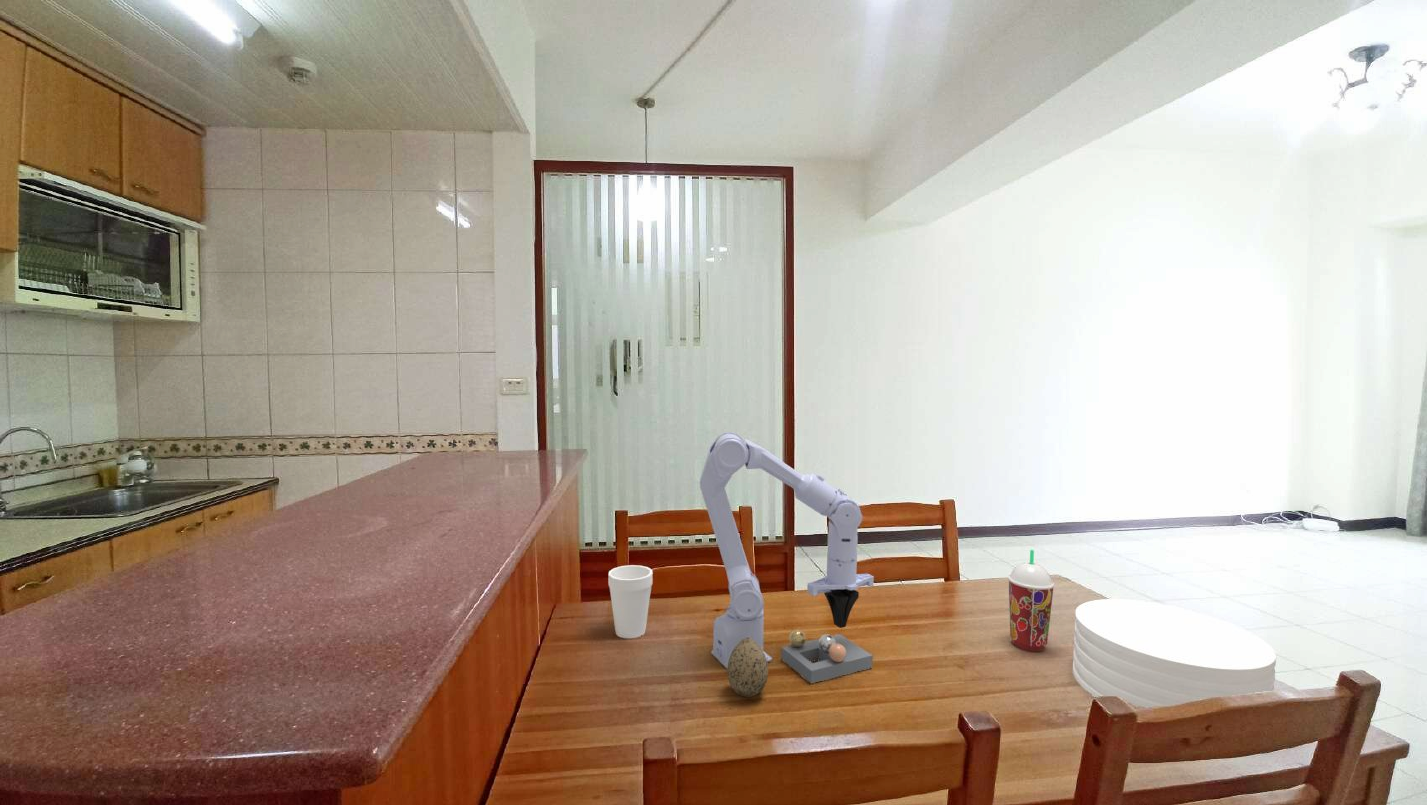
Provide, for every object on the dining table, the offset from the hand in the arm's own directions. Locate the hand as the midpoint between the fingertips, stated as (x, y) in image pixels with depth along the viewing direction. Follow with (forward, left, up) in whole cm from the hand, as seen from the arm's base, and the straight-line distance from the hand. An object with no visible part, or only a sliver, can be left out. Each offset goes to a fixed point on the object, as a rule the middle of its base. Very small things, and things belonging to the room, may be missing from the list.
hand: (839, 625), depth 117 cm
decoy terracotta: (-4, -5, -2) cm, 7 cm away
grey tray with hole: (-4, -1, -6) cm, 8 cm away
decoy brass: (-8, +3, -2) cm, 9 cm away
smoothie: (+39, -12, -7) cm, 41 cm away
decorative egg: (-23, -4, -7) cm, 24 cm away
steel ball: (-4, -1, -2) cm, 5 cm away
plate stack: (+45, -34, -7) cm, 57 cm away
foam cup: (-34, +28, -7) cm, 44 cm away
